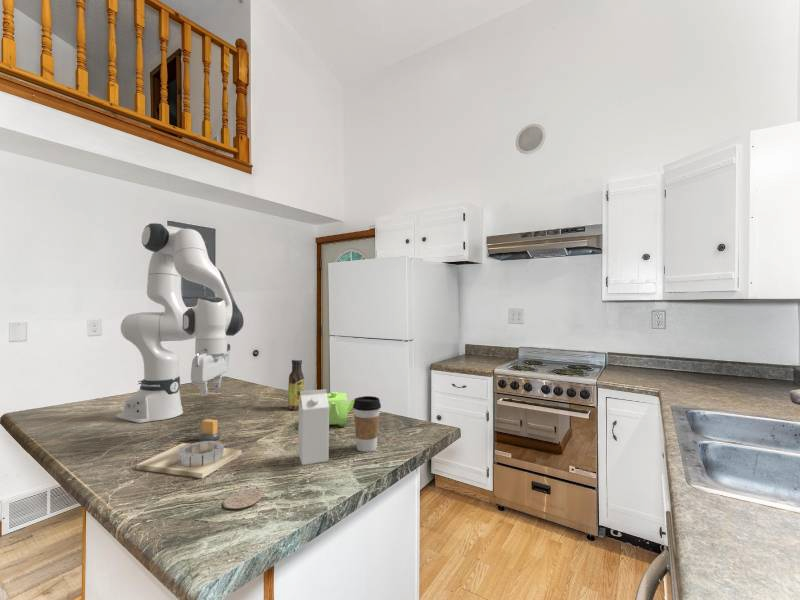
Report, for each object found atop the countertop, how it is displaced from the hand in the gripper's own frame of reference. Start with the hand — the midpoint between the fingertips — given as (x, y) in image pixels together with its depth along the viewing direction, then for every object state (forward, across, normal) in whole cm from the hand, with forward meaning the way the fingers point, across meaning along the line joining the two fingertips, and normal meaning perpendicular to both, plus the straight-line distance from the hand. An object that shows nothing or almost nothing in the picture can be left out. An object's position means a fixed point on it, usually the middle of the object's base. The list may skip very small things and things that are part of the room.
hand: (210, 391), depth 118 cm
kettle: (+15, +13, -37) cm, 42 cm away
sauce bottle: (+15, +34, -20) cm, 42 cm away
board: (+15, -16, -2) cm, 22 cm away
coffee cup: (+16, -10, -49) cm, 52 cm away
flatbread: (+16, -38, -22) cm, 46 cm away
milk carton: (+16, -16, -34) cm, 41 cm away
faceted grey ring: (+14, -17, -4) cm, 23 cm away
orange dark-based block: (+15, 0, 0) cm, 15 cm away
